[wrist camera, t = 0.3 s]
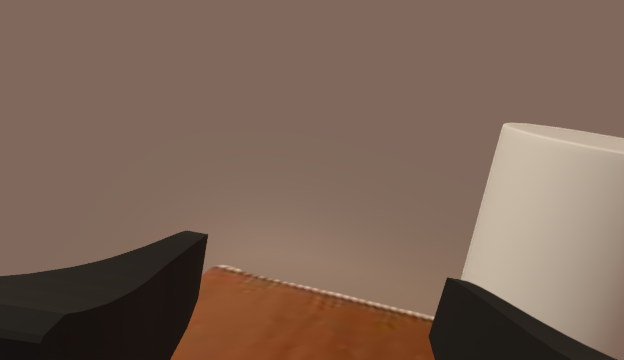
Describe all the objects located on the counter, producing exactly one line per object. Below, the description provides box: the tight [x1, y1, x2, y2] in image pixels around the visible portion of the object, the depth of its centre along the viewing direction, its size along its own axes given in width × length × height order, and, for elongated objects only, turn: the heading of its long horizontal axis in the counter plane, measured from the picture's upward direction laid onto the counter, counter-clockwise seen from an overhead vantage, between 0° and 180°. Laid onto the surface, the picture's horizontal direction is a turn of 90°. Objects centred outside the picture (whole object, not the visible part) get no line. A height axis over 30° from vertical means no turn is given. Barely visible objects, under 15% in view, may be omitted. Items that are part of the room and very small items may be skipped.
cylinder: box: [461, 123, 624, 360], centre depth 31 cm, size 12×12×25 cm
